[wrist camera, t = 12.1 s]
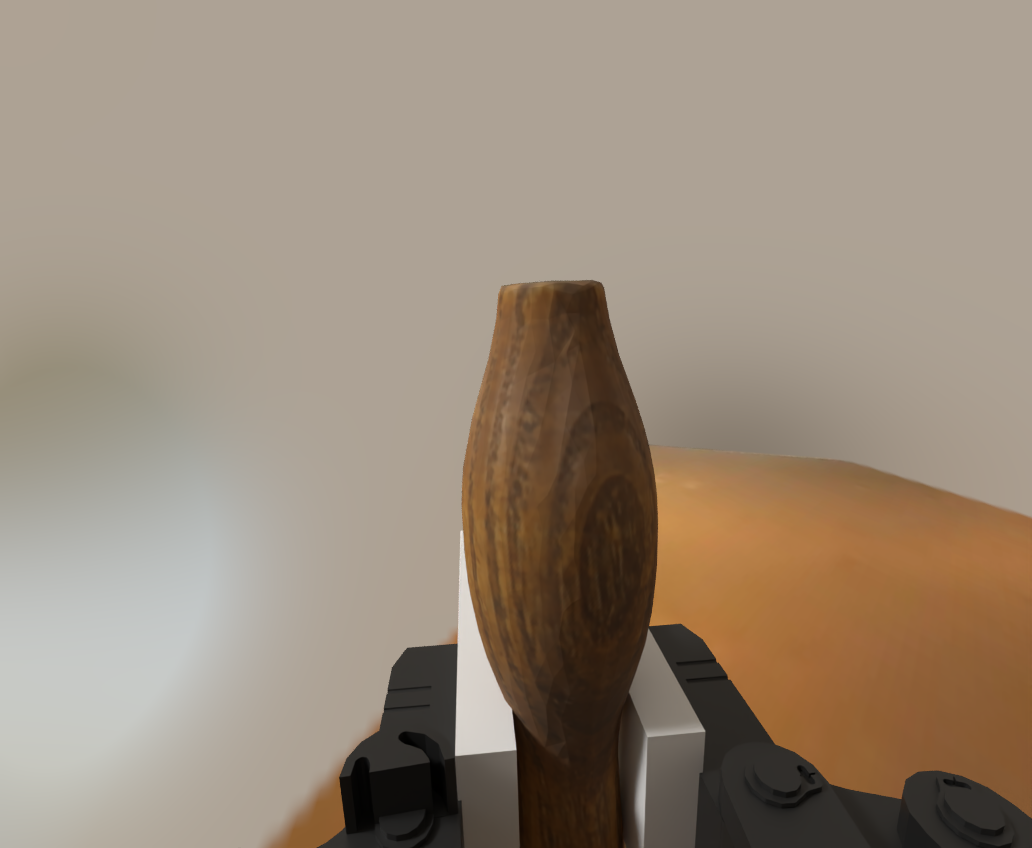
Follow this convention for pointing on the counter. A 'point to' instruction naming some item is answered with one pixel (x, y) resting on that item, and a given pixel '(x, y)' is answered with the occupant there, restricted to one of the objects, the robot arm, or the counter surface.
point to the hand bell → (561, 551)
